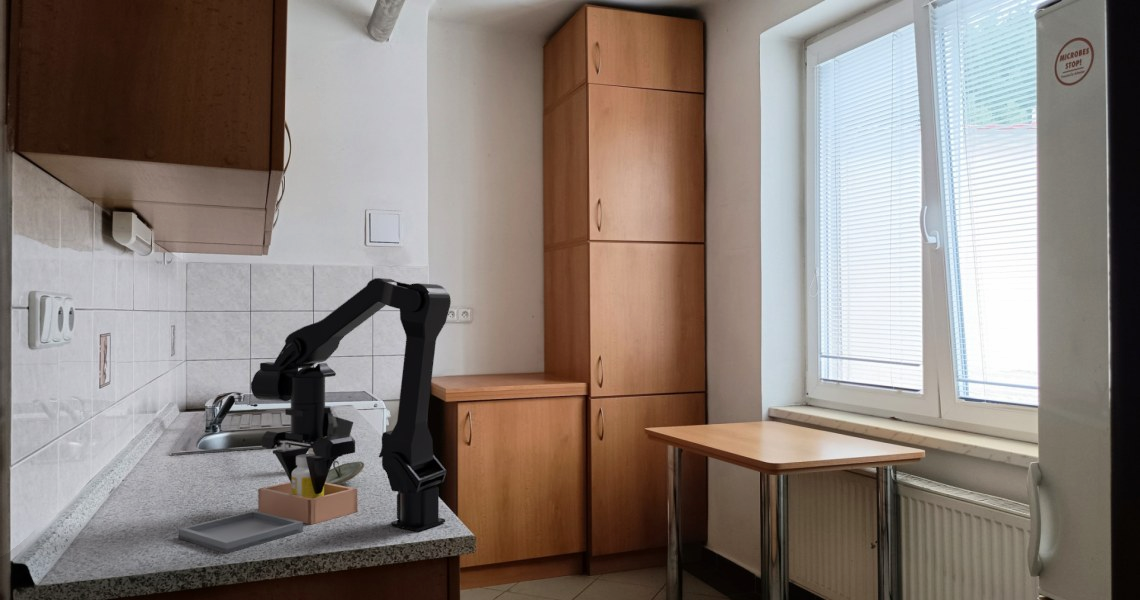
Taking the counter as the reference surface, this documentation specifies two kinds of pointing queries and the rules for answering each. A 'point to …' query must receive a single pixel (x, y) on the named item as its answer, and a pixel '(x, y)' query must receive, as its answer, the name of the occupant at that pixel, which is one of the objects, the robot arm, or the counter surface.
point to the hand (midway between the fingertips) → (307, 491)
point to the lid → (343, 472)
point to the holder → (307, 503)
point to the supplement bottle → (303, 479)
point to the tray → (240, 531)
